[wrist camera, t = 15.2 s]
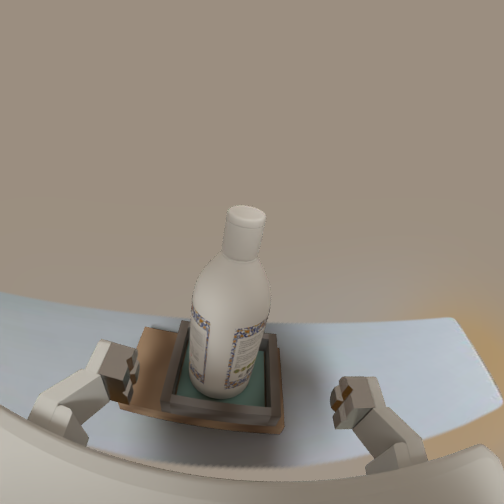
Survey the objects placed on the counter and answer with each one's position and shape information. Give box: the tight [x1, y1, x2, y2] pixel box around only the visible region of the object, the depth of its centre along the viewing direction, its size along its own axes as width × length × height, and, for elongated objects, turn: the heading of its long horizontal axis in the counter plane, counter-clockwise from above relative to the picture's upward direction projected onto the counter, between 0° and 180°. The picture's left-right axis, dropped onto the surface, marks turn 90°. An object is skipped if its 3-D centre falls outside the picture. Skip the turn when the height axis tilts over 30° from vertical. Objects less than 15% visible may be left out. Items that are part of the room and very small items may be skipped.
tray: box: [118, 320, 285, 434], centre depth 31 cm, size 18×12×4 cm, turn 88°
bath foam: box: [189, 205, 271, 399], centre depth 26 cm, size 7×7×20 cm
